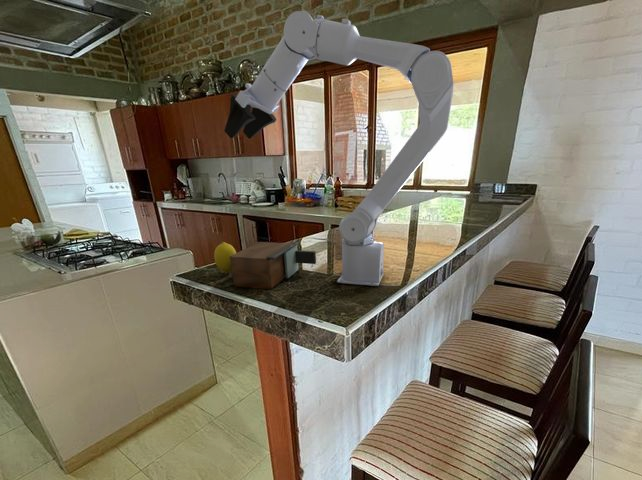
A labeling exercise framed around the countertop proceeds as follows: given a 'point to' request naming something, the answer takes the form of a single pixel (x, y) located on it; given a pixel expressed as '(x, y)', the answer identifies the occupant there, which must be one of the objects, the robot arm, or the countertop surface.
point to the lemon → (224, 256)
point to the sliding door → (297, 259)
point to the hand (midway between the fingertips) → (237, 135)
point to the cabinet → (260, 265)
